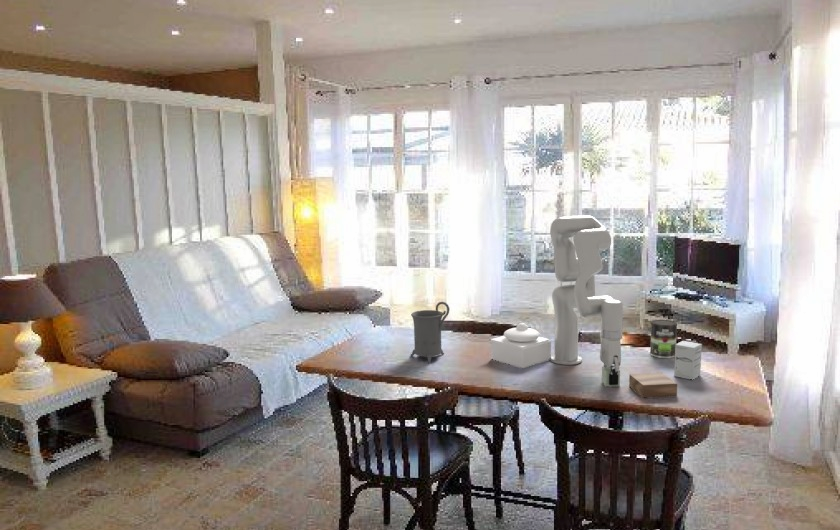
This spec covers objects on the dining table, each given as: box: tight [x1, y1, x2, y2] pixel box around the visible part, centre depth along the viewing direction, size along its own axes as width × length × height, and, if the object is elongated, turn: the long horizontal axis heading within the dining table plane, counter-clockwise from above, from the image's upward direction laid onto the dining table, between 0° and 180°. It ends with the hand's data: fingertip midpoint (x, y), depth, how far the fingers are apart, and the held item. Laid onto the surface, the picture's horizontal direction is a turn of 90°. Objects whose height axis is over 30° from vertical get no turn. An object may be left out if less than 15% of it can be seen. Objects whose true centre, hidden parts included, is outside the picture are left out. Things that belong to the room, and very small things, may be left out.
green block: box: [601, 366, 621, 387], centre depth 233 cm, size 5×5×6 cm
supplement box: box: [673, 340, 703, 381], centre depth 239 cm, size 7×7×13 cm
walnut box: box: [628, 372, 678, 399], centre depth 225 cm, size 12×12×5 cm
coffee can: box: [649, 319, 678, 359], centre depth 267 cm, size 10×10×14 cm
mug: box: [410, 301, 450, 364], centre depth 270 cm, size 19×15×25 cm
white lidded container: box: [490, 322, 552, 369], centre depth 266 cm, size 18×18×16 cm
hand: (610, 381), depth 233 cm, fingers open, 5 cm apart
